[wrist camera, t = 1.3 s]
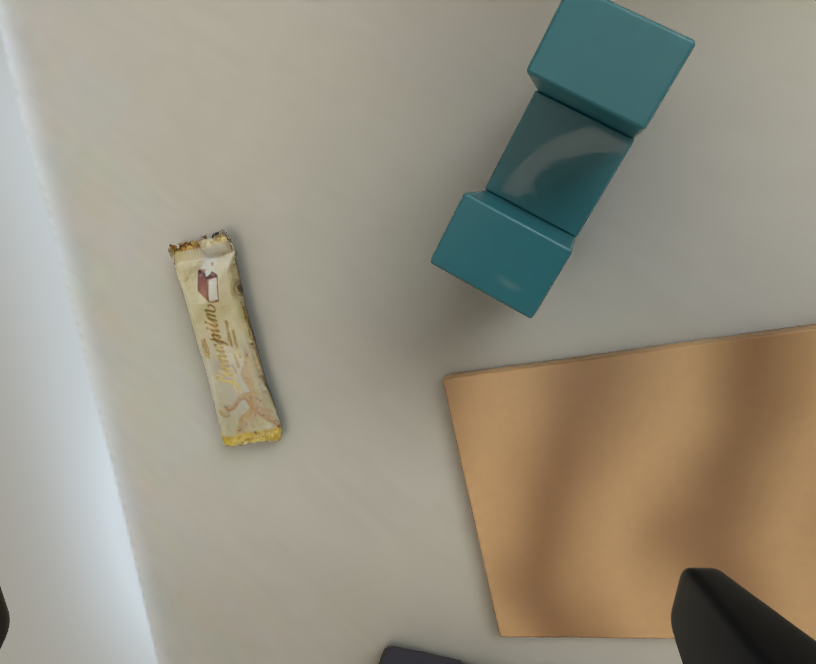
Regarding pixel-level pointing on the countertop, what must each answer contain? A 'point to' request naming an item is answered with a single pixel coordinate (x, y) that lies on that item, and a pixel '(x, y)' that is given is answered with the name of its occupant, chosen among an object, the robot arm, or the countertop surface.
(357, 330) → the countertop surface
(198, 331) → the snack bar
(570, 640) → the countertop surface
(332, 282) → the countertop surface
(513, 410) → the wooden board
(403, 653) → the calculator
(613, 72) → the letter H
